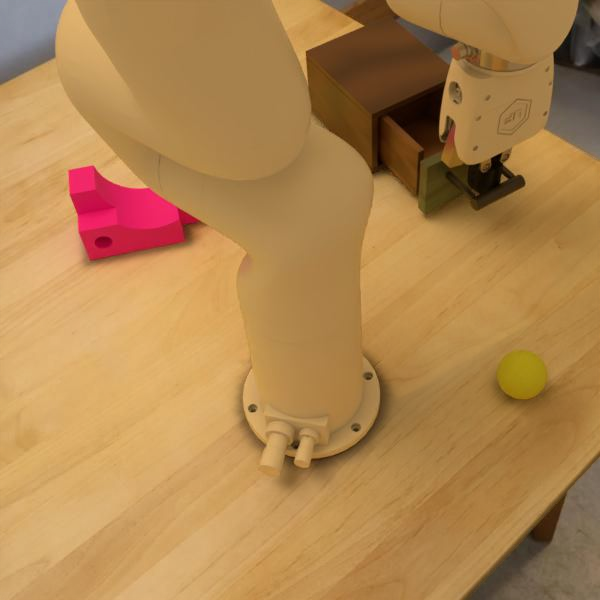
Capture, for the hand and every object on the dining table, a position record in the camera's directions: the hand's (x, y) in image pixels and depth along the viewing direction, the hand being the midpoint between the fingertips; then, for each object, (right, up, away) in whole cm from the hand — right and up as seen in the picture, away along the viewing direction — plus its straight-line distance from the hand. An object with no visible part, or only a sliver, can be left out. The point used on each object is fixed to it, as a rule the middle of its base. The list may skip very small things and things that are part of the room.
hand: (482, 187), depth 88 cm
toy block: (-35, -4, +6) cm, 35 cm away
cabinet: (-9, +10, +14) cm, 19 cm away
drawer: (-3, +2, +6) cm, 7 cm away
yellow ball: (+1, -18, -12) cm, 22 cm away
